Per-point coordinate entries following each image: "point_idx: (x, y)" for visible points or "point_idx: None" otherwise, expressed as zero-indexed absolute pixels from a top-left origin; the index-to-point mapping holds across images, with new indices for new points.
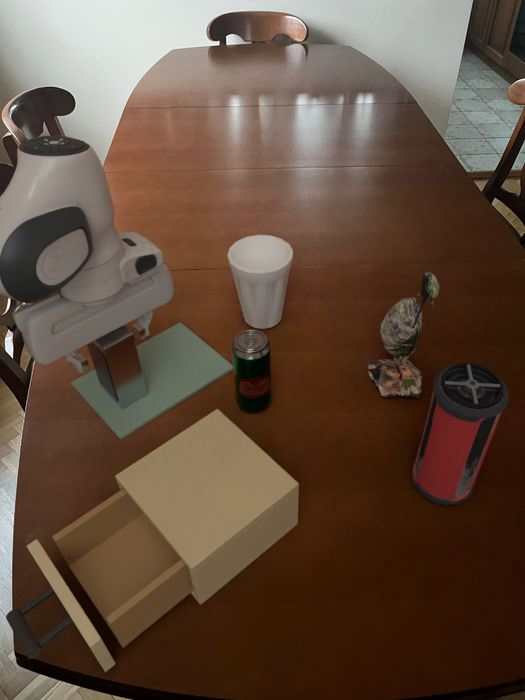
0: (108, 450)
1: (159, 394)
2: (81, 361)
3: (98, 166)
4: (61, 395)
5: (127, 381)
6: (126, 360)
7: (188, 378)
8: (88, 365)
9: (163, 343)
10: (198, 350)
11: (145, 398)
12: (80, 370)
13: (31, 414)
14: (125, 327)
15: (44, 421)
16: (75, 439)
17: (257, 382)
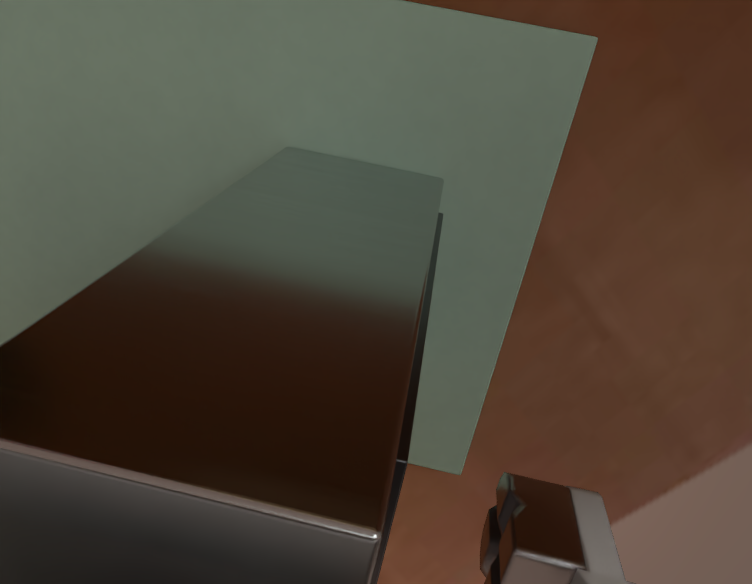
0: (685, 39)
1: (246, 96)
2: (567, 575)
3: None
4: (528, 459)
5: (342, 215)
6: (246, 286)
7: (68, 49)
8: (514, 493)
9: None
10: None
11: (313, 138)
12: (595, 507)
13: (677, 484)
14: None
15: (682, 421)
16: (705, 240)
17: None
